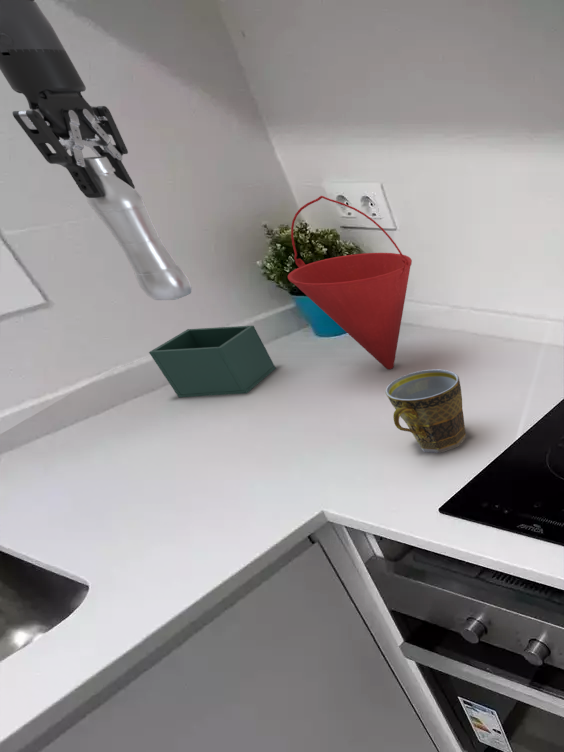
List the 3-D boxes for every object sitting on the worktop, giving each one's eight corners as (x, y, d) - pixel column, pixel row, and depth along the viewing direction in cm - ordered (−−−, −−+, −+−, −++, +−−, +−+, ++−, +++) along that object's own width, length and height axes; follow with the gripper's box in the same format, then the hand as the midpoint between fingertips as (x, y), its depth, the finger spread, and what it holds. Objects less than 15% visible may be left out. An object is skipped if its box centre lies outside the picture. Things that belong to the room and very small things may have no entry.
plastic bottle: (169, 306, 89) (81, 161, 76) (140, 303, 91) (50, 160, 78) (207, 294, 94) (130, 155, 81) (178, 291, 95) (99, 155, 83)
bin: (180, 399, 99) (148, 352, 94) (214, 374, 108) (187, 329, 102) (248, 395, 100) (220, 347, 94) (277, 370, 109) (253, 325, 103)
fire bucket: (464, 352, 113) (417, 184, 94) (415, 395, 98) (347, 206, 79) (369, 348, 116) (304, 185, 97) (307, 390, 101) (216, 206, 82)
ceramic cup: (430, 425, 90) (410, 367, 83) (487, 429, 88) (471, 370, 82) (384, 470, 80) (356, 408, 73) (447, 475, 78) (425, 412, 72)
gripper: (41, 49, 77) (120, 187, 88) (-58, 45, 66) (46, 203, 77) (96, 48, 78) (168, 185, 88) (8, 44, 67) (103, 201, 77)
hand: (111, 193), depth 82 cm, fingers closed on plastic bottle, 6 cm apart
